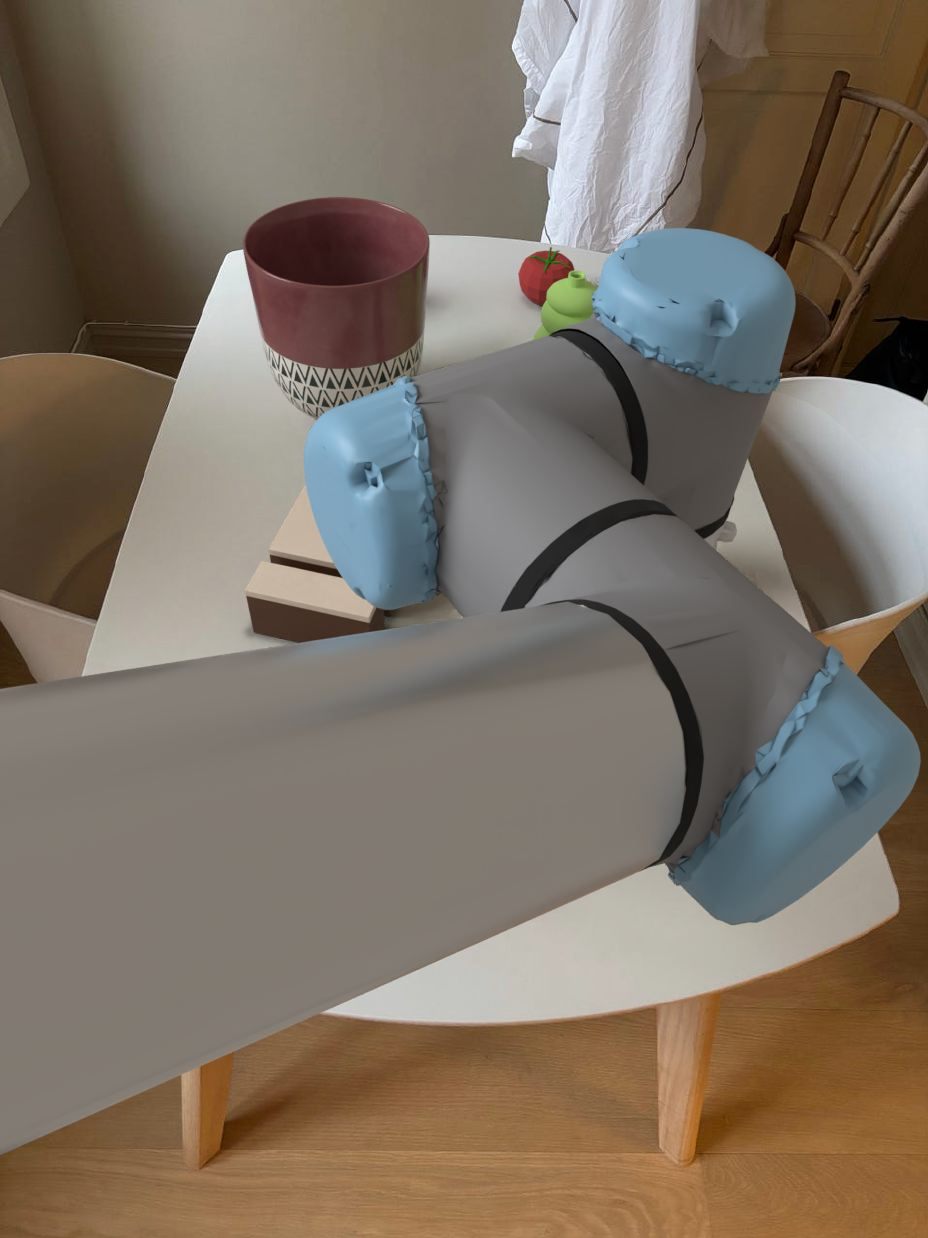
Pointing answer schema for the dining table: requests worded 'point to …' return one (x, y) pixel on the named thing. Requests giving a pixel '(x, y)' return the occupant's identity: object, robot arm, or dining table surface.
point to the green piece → (566, 303)
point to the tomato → (542, 273)
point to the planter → (338, 297)
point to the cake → (303, 542)
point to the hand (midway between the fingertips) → (570, 805)
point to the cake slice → (307, 605)
